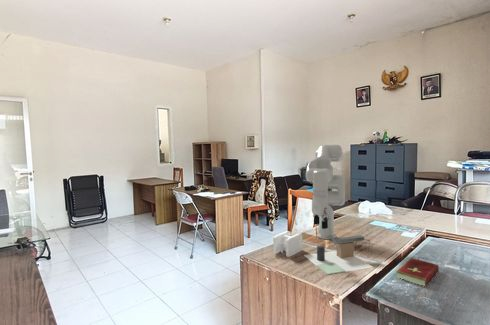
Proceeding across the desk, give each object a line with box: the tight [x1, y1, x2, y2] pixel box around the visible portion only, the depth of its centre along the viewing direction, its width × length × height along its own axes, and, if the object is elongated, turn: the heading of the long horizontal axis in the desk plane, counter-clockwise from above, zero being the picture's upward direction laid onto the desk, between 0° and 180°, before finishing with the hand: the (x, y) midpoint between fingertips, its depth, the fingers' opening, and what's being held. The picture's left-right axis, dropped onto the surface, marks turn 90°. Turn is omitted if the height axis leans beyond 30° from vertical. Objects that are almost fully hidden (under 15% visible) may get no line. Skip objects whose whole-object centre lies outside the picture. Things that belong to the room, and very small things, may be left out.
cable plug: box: [316, 245, 326, 261], centre depth 145 cm, size 4×4×7 cm
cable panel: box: [303, 242, 373, 276], centre depth 143 cm, size 24×26×9 cm
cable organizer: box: [272, 230, 304, 258], centre depth 157 cm, size 15×11×12 cm
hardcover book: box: [396, 257, 440, 287], centre depth 129 cm, size 12×21×4 cm, turn 132°
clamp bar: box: [331, 235, 365, 245], centre depth 149 cm, size 3×18×2 cm, turn 105°
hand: (320, 226), depth 144 cm, fingers open, 7 cm apart
